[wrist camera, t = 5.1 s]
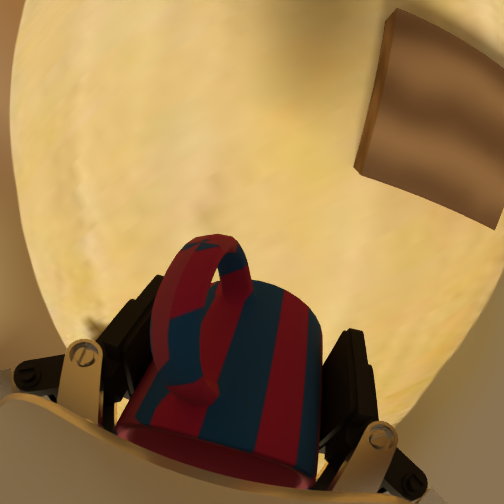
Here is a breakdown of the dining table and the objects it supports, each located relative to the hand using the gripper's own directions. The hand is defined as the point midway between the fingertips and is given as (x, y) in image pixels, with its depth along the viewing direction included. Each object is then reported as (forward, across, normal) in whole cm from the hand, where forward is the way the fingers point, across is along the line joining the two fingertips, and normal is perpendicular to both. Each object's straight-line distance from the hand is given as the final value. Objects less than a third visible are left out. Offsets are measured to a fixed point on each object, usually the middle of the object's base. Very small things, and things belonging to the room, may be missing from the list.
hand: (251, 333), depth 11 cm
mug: (+2, 0, 0) cm, 2 cm away
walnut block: (+16, -12, -12) cm, 23 cm away
